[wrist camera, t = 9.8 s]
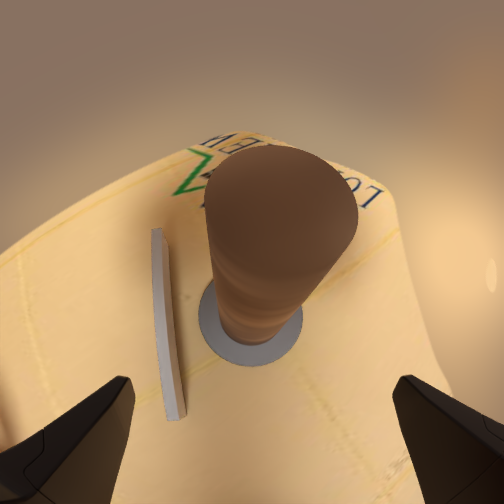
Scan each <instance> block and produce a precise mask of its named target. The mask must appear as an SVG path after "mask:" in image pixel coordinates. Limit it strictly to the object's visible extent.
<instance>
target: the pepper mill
mask: <svg viewBox="0 0 504 504" xmlns="http://www.w3.org/2000/svg"><path fill="white" fill-rule="evenodd" d="M204 205H205V214H206V223H207V231H208V239H209V247H210V255H211V263H212V270H213V278H214V285H215V292H216V299H217V305H218V312H219V318H220V323H221V326H222V328H223V330H224V332H225V333H226V334H227V335H228V336H229V337H230V338H231V339H232V340H234V341H235V342H237V343H239V344H242V345H247V346H256V345H261V344H263V343H266V342H268V341H269V340H271V339H272V338H273V337H274V336H275V335H276V334H277V333H278V332H279V330H280V329H281V328H282V327H283V326H284V325H285V324H286V322H287V321H288V320H289V319H290V318H291V317H292V315H293V314H294V313H295V312H296V311H297V309H298V308H299V307H300V306H301V305H302V304H303V302H304V301H305V300H306V299H307V298H308V296H309V295H310V294H311V293H312V291H313V290H314V289H315V288H316V287H317V285H318V284H319V283H320V282H321V280H322V279H323V278H324V277H325V275H326V274H327V273H328V272H329V270H330V269H331V268H332V266H333V265H334V264H335V263H336V261H337V260H338V259H339V257H340V256H341V255H342V253H343V252H344V251H345V249H346V248H347V247H348V245H349V244H350V242H351V241H352V239H353V237H354V235H355V232H356V229H357V225H358V208H357V204H356V200H355V197H354V194H353V192H352V190H351V188H350V187H349V185H348V184H347V182H346V181H345V179H344V178H343V177H342V176H341V175H340V174H339V172H337V171H336V170H335V169H334V168H333V167H332V166H331V165H329V164H328V163H327V162H325V161H324V160H322V159H320V158H319V157H317V156H315V155H313V154H310V153H308V152H305V151H303V150H300V149H296V148H292V147H287V146H278V145H266V146H257V147H252V148H248V149H245V150H242V151H240V152H237V153H235V154H233V155H232V156H230V157H228V158H227V159H226V160H224V161H223V162H222V163H221V164H220V165H219V166H218V167H217V168H216V169H215V170H214V172H213V173H212V174H211V176H210V178H209V180H208V183H207V186H206V189H205V195H204Z"/></svg>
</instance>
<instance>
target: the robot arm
mask: <svg viewBox="0 0 504 504" xmlns="http://www.w3.org/2000/svg"><path fill="white" fill-rule="evenodd" d="M392 398H393V402H394V405H395V409H396V413H397V417H398V421H399V425H400V428H401V432H402V435H403V438H404V440H405V443H406V446H407V449H408V452H409V454H410V457H411V460H412V463H413V466H414V469H415V472H416V475H417V478H418V481H419V485H420V488H421V491H422V494H423V498H424V501H425V504H504V425H503V424H501V423H498V422H496V421H494V420H492V419H490V418H488V417H487V416H484V415H482V414H481V413H479V412H477V411H475V410H474V409H472V408H470V407H468V406H466V405H465V404H463V403H461V402H459V401H457V400H456V399H454V398H452V397H450V396H448V395H447V394H445V393H443V392H441V391H439V390H438V389H436V388H434V387H432V386H431V385H429V384H427V383H425V382H424V381H422V380H420V379H418V378H417V377H415V376H413V375H404V376H401V377H400V379H399V380H398V383H397V385H396V387H395V389H394V391H393V394H392ZM134 404H135V393H134V389H133V386H132V382H131V379H130V378H129V377H125V376H116V377H115V378H113V379H112V380H111V381H109V382H108V383H106V384H105V385H104V386H102V387H101V388H99V389H98V390H97V391H95V392H94V393H92V394H91V395H90V396H88V397H87V398H85V399H84V400H83V401H81V402H80V403H78V404H77V405H76V406H74V407H73V408H71V409H70V410H69V411H67V412H66V413H64V414H63V415H61V416H60V417H59V418H57V419H56V420H54V421H53V422H51V423H50V424H48V425H47V426H46V427H44V430H43V429H41V430H40V431H38V432H37V433H35V434H34V435H32V436H31V437H29V438H27V439H26V440H24V441H23V442H21V443H19V444H17V445H15V446H13V447H11V448H9V449H7V450H5V451H3V452H1V453H0V504H110V502H111V498H112V494H113V491H114V487H115V483H116V479H117V476H118V472H119V469H120V465H121V462H122V458H123V455H124V451H125V448H126V445H127V441H128V437H129V432H130V426H131V420H132V415H133V410H134Z"/></svg>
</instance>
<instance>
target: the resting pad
mask: <svg viewBox="0 0 504 504" xmlns="http://www.w3.org/2000/svg"><path fill="white" fill-rule="evenodd" d="M302 321H303V312H302V306H300V307H299V308H298V309H297V311H296V312H295V313H294V314H293V315H292V317H291V318H290V319H289V320H288V321H287V322H286V324H285V325H284V326H283V327H282V328H281V329H280V330H279V332H278V333H277V334H276V335H275V336H274V337H273V338H272V339H271V340H269V341H268V342H266V343H263V344H261V345H256V346H247V345H242V344H239V343H237V342H235V341H234V340H232V339H231V338H230V337H229V336H228V335H227V334H226V333H225V332H224V330H223V328H222V326H221V323H220V318H219V312H218V305H217V299H216V292H215V285H214V280H213V281H212V282H211V284H210V285H209V286H208V287H207V289H206V290H205V292H204V294H203V296H202V299H201V301H200V306H199V324H200V329H201V332H202V334H203V336H204V338H205V340H206V342H207V343H208V345H209V346H210V348H211V349H212V350H213V351H214V352H215V353H216V354H218V355H219V356H220V357H222V358H223V359H225V360H227V361H229V362H231V363H234V364H237V365H241V366H261V365H265V364H268V363H271V362H274V361H275V360H277V359H279V358H281V357H282V356H283V355H285V354H286V353H287V352H288V351H289V350H290V349H291V348H292V346H293V345H294V344H295V342H296V340H297V339H298V337H299V334H300V332H301V328H302Z"/></svg>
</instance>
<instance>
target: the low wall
mask: <svg viewBox="0 0 504 504" xmlns="http://www.w3.org/2000/svg"><path fill="white" fill-rule="evenodd" d="M152 285H153V305H154V320H155V332H156V343H157V352H158V361H159V370H160V377H161V384H162V391H163V398H164V404H165V410H166V416H167V421H178V420H181V419H182V418H184V417H185V416H187V414H186V408H185V402H184V396H183V390H182V384H181V377H180V370H179V363H178V355H177V347H176V339H175V330H174V320H173V309H172V297H171V283H170V267H169V246H168V244H167V241H166V239H165V236H164V233H163V231H162V228H158V229H152Z"/></svg>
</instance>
